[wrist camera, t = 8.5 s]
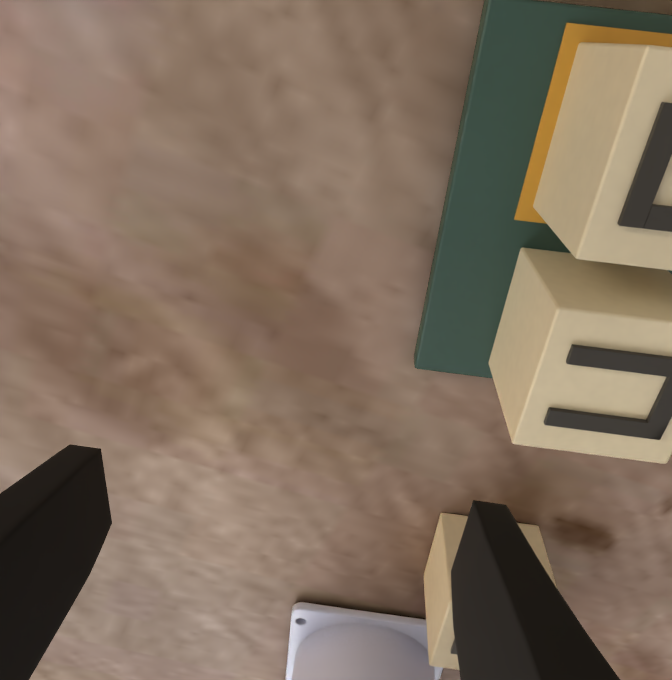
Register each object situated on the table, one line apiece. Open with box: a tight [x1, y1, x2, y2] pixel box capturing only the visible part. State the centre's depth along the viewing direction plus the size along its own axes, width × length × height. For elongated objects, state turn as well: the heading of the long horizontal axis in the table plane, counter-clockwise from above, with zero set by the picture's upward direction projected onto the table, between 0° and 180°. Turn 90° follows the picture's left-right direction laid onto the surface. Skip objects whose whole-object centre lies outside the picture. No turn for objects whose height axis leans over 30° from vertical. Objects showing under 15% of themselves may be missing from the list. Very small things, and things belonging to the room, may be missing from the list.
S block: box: [533, 42, 672, 271], centre depth 13 cm, size 4×4×4 cm
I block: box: [424, 513, 557, 670], centre depth 22 cm, size 4×4×4 cm
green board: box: [414, 0, 672, 378], centre depth 16 cm, size 11×9×1 cm
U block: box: [489, 248, 672, 464], centre depth 15 cm, size 4×4×4 cm
